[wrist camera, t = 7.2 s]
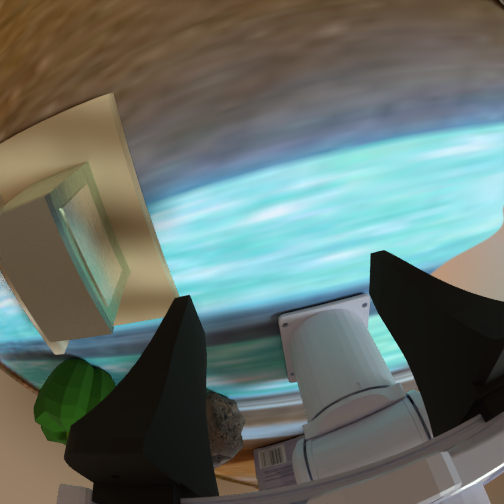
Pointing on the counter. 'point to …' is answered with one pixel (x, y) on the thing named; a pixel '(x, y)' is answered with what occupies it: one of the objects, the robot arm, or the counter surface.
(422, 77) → the counter surface
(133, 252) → the shelf board
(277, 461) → the cake pan box
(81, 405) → the bell pepper
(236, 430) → the perforated stone tool
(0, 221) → the tea tin
